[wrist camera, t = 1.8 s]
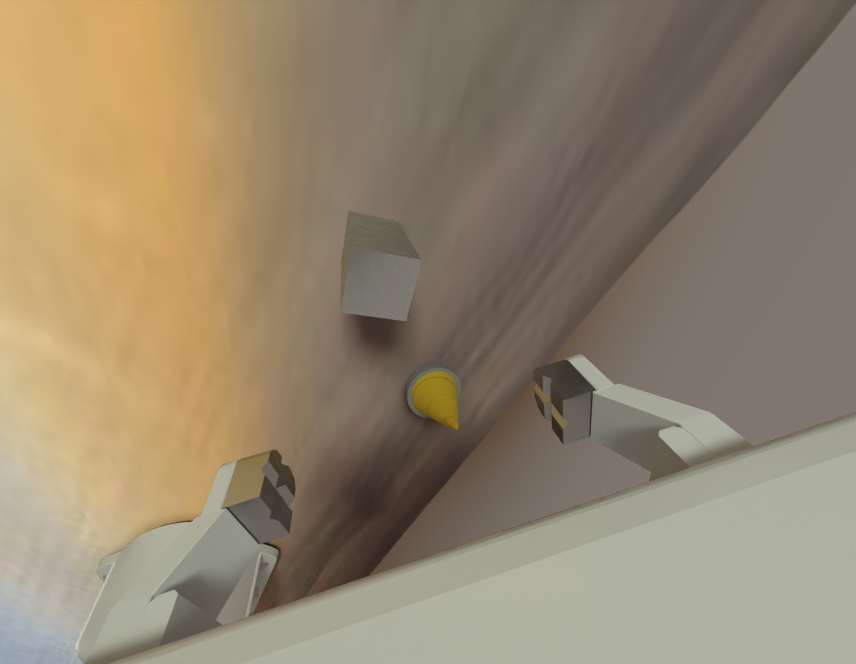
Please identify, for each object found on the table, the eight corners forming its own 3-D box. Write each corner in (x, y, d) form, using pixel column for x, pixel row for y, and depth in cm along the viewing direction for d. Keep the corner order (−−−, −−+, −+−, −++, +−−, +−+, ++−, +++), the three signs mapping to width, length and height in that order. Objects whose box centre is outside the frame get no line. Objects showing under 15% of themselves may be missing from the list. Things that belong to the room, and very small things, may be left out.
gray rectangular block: (388, 268, 30) (406, 321, 22) (341, 259, 29) (340, 312, 21) (398, 221, 29) (421, 260, 20) (348, 210, 27) (350, 246, 19)
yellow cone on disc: (392, 394, 36) (416, 455, 27) (408, 347, 35) (438, 394, 26) (438, 403, 38) (474, 462, 29) (455, 359, 37) (498, 406, 28)
